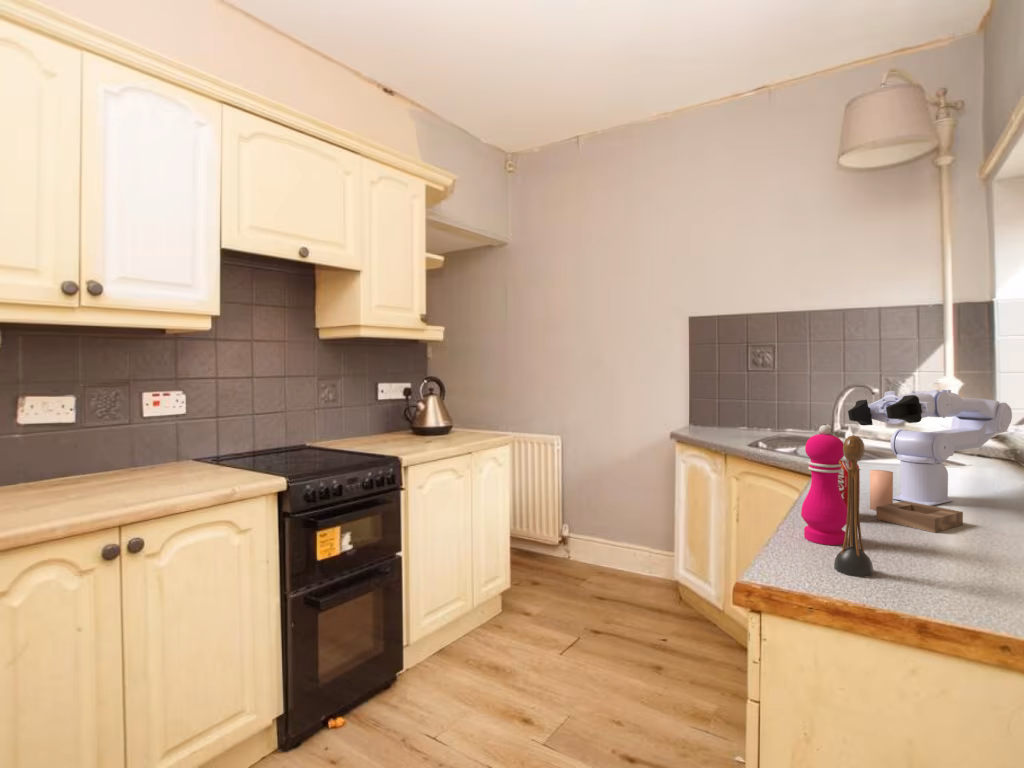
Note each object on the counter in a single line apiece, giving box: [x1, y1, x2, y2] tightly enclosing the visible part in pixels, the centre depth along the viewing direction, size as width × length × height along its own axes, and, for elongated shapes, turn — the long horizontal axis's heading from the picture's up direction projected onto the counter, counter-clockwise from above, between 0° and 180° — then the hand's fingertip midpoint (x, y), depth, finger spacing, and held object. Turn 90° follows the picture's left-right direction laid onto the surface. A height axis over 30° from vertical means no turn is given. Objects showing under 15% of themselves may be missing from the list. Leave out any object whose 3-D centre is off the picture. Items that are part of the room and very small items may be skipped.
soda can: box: [838, 456, 861, 508], centre depth 110 cm, size 7×7×12 cm
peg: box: [869, 469, 894, 511], centre depth 115 cm, size 4×4×8 cm
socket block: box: [875, 501, 964, 533], centre depth 105 cm, size 10×10×2 cm
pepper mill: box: [800, 424, 847, 546], centre depth 95 cm, size 7×7×20 cm
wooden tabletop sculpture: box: [833, 435, 874, 578], centre depth 81 cm, size 6×5×20 cm
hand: (868, 414), depth 113 cm, fingers open, 7 cm apart
